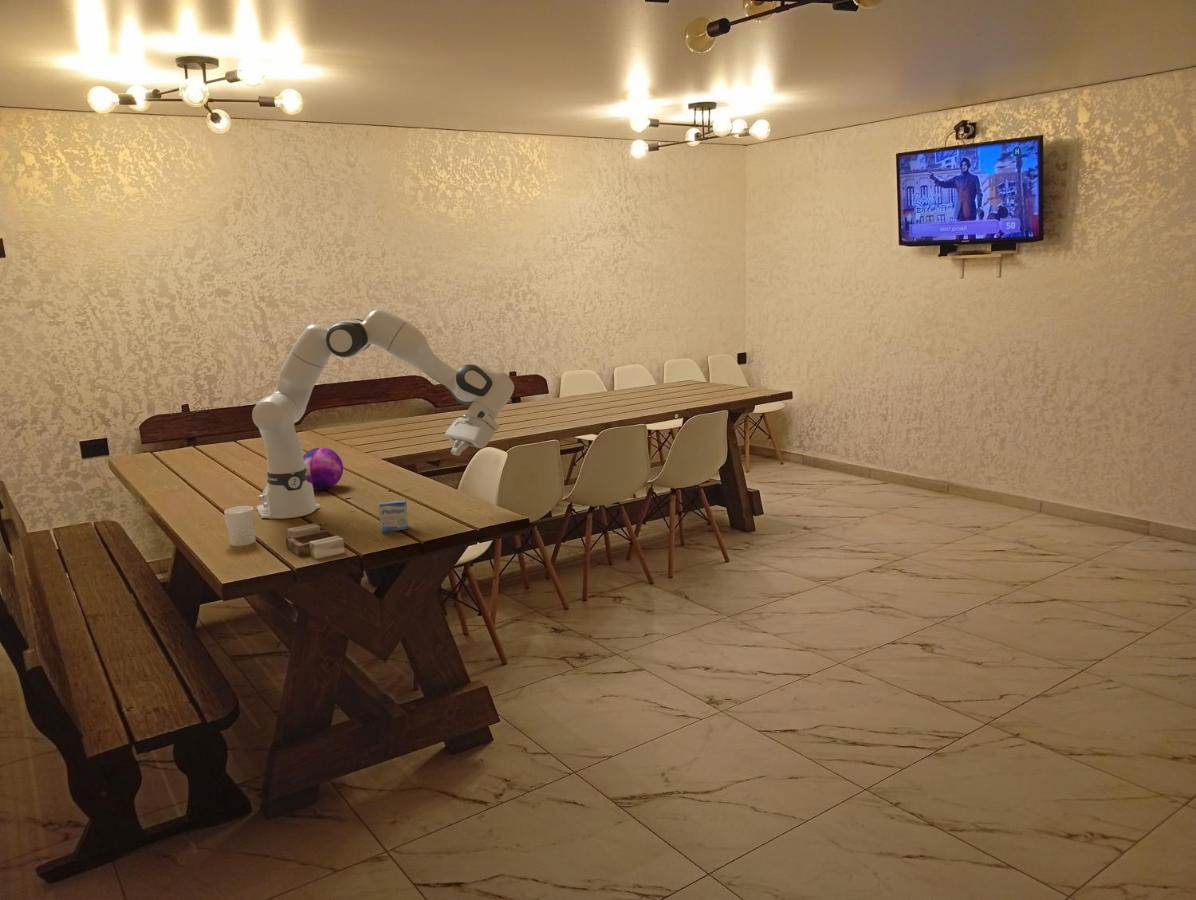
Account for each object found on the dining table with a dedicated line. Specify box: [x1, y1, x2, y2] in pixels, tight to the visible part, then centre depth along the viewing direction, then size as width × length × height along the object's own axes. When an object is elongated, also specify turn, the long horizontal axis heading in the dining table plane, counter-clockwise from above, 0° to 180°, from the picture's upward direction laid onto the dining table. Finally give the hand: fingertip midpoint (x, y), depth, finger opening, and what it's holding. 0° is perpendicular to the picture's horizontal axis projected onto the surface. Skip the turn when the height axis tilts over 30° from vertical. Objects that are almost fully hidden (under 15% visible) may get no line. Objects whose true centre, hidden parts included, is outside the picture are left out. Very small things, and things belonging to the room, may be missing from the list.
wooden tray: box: [285, 522, 345, 560], centre depth 252 cm, size 21×12×4 cm, turn 38°
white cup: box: [224, 505, 256, 547], centre depth 259 cm, size 8×8×10 cm
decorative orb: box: [303, 447, 344, 491], centre depth 320 cm, size 15×15×15 cm
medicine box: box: [378, 498, 409, 533], centre depth 267 cm, size 8×4×9 cm, turn 105°
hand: (454, 454), depth 277 cm, fingers closed
